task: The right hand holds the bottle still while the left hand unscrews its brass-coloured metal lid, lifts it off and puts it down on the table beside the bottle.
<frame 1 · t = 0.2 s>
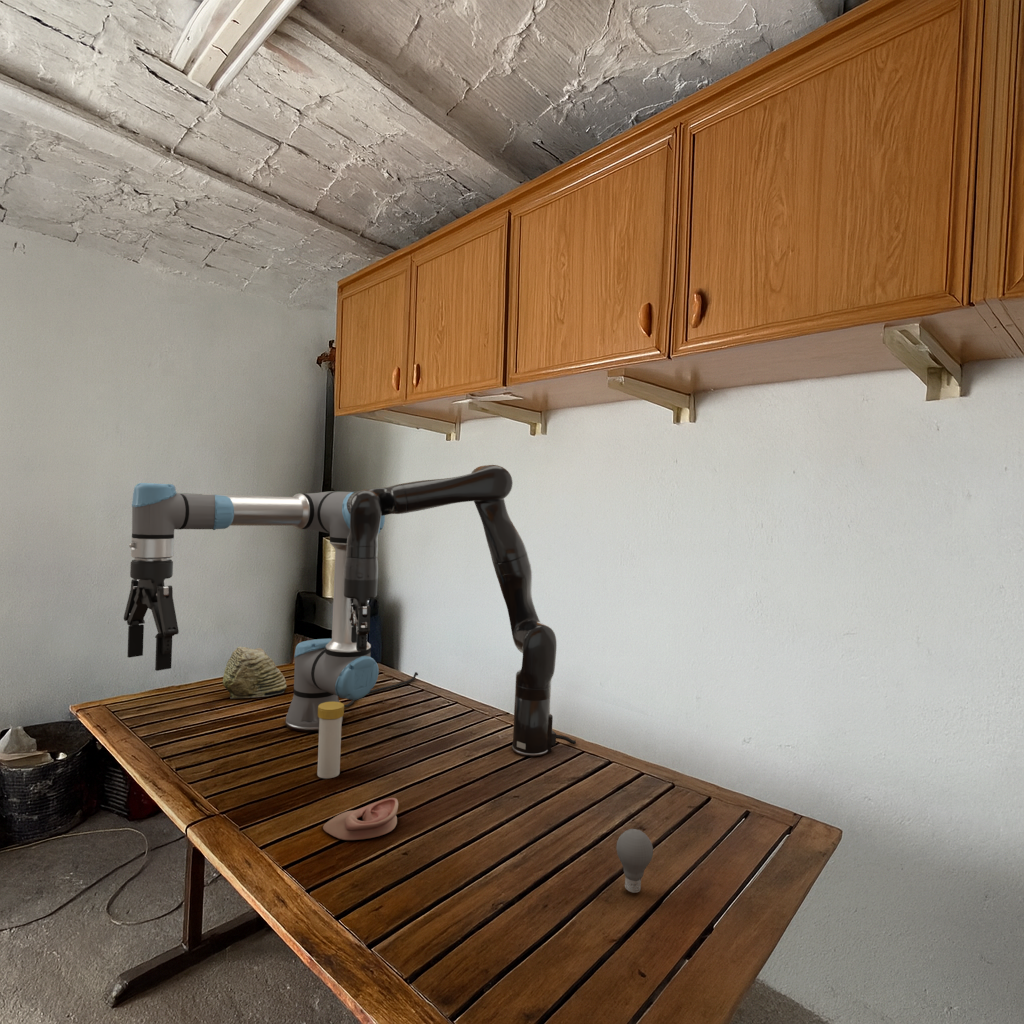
left hand: (148, 662, 129), 28 cm above the table, tool pointing down, fingers open, 13 cm apart
right hand: (358, 646, 146), 29 cm above the table, tool pointing down, fingers open, 8 cm apart
fossil: (254, 694, 198), on the table
lid: (331, 707, 145), point 15 cm above the table, screwed on, not yet turned
bottle: (328, 773, 145), on the table
light bulb: (632, 891, 106), on the table
anatomical model: (361, 826, 122), on the table
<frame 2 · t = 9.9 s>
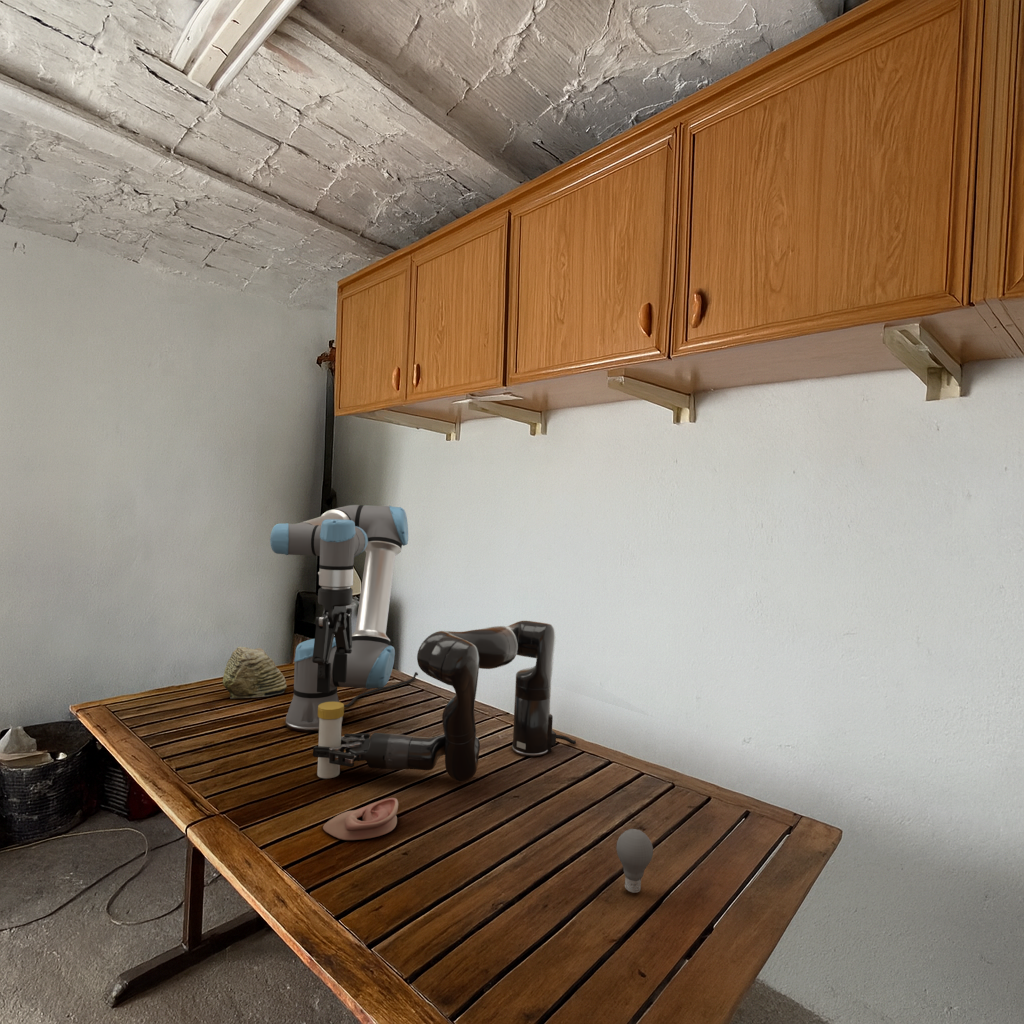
left hand: (331, 686, 145), 20 cm above the table, tool pointing down, fingers open, 8 cm apart
right hand: (318, 746, 145), 6 cm above the table, tool horizontal, fingers closed on bottle, 5 cm apart
bottle: (328, 773, 145), on the table, touching right hand
everything else where it was.
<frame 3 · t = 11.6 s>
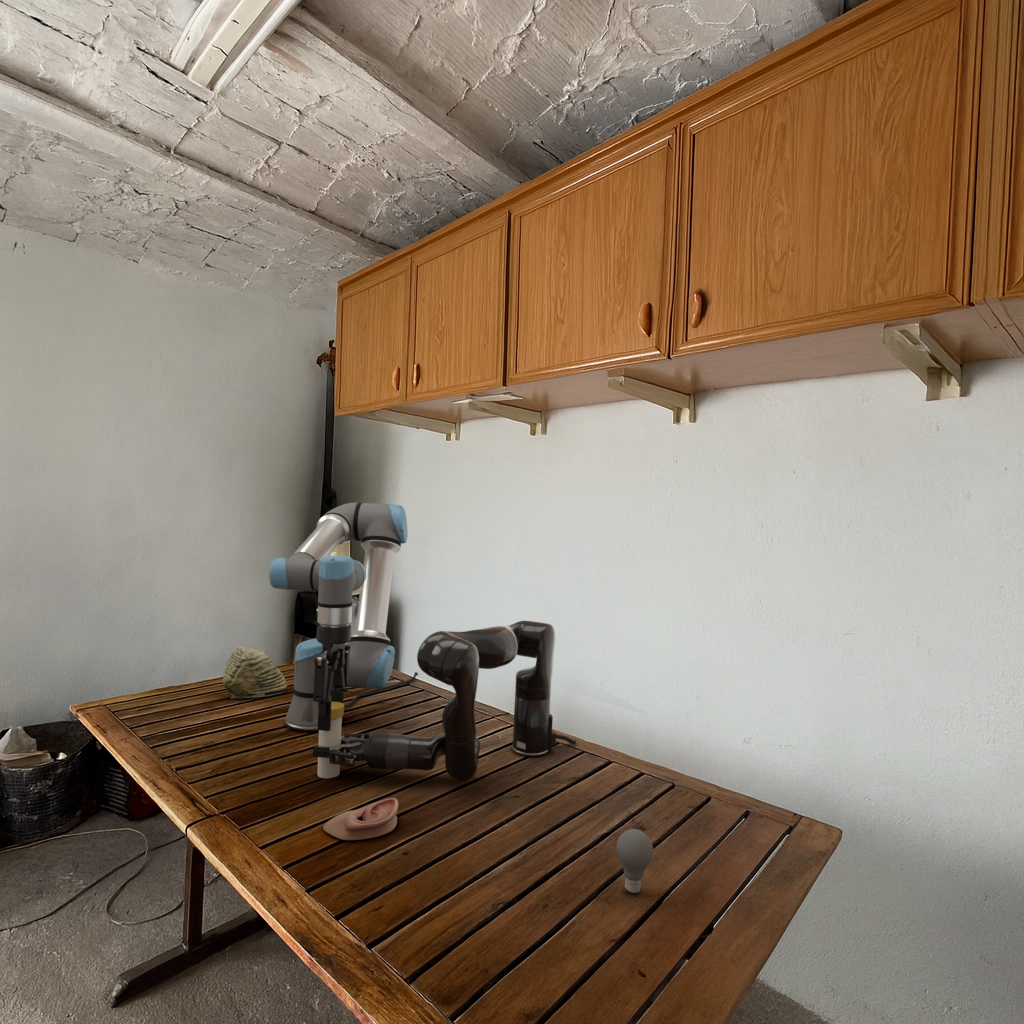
left hand: (330, 725, 145), 11 cm above the table, tool pointing down, fingers closed on lid, 6 cm apart
right hand: (318, 746, 145), 6 cm above the table, tool horizontal, fingers closed on bottle, 5 cm apart
lid: (331, 707, 145), point 15 cm above the table, screwed on, not yet turned, touching left hand
bottle: (328, 773, 145), on the table, touching right hand
everything else where it was.
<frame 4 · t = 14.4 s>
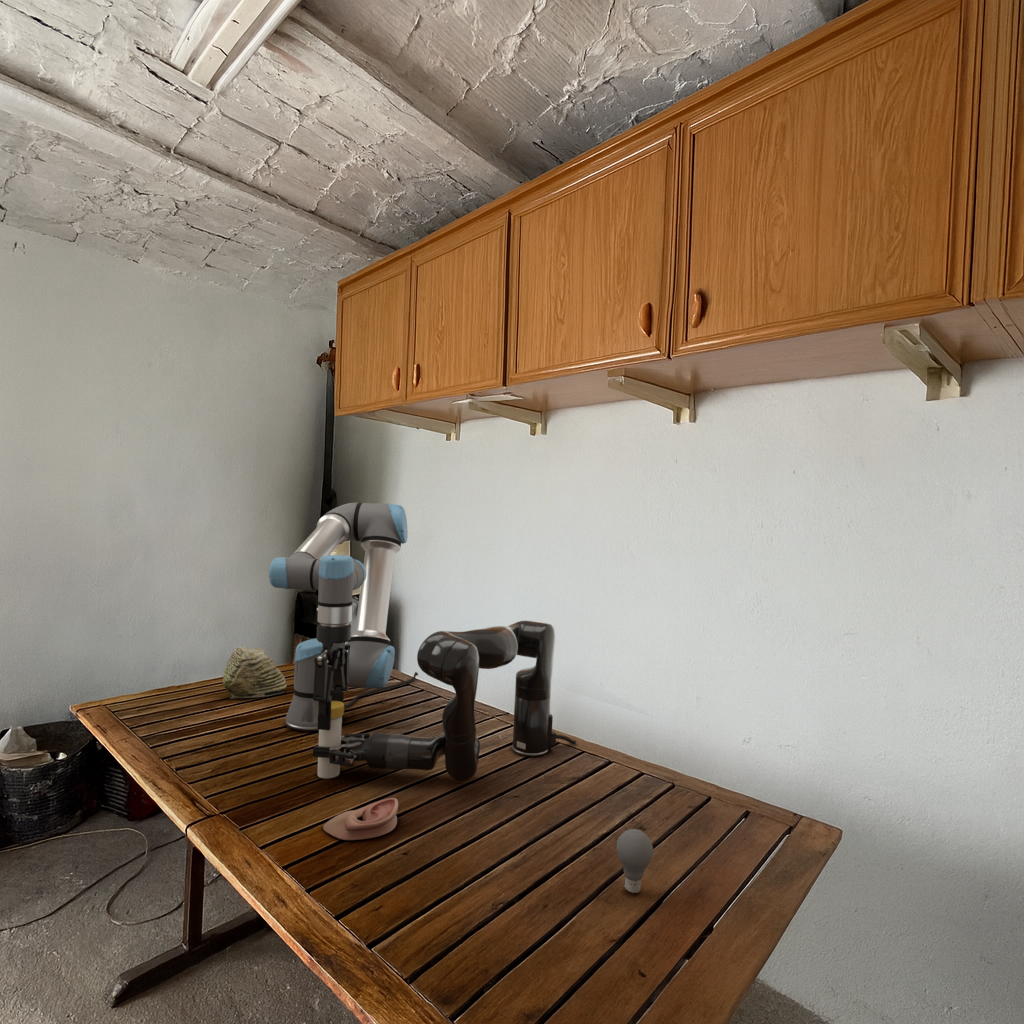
left hand: (330, 724, 145), 11 cm above the table, tool pointing down, fingers closed on lid, 6 cm apart
right hand: (318, 746, 145), 6 cm above the table, tool horizontal, fingers closed on bottle, 5 cm apart
lid: (331, 706, 145), point 16 cm above the table, turned 59° so far, risen 0.2 cm, still on its thread, touching left hand
bottle: (328, 773, 145), on the table, touching right hand
everything else where it was.
when the left hand's fingers open (0 cm above the table, at t = 21.3 s): lid drops 2 cm, point 2 cm above the table.
when the right hand's fingers open (6 cm above the table, at t = 22.1 s): bottle stays where it is, on the table.
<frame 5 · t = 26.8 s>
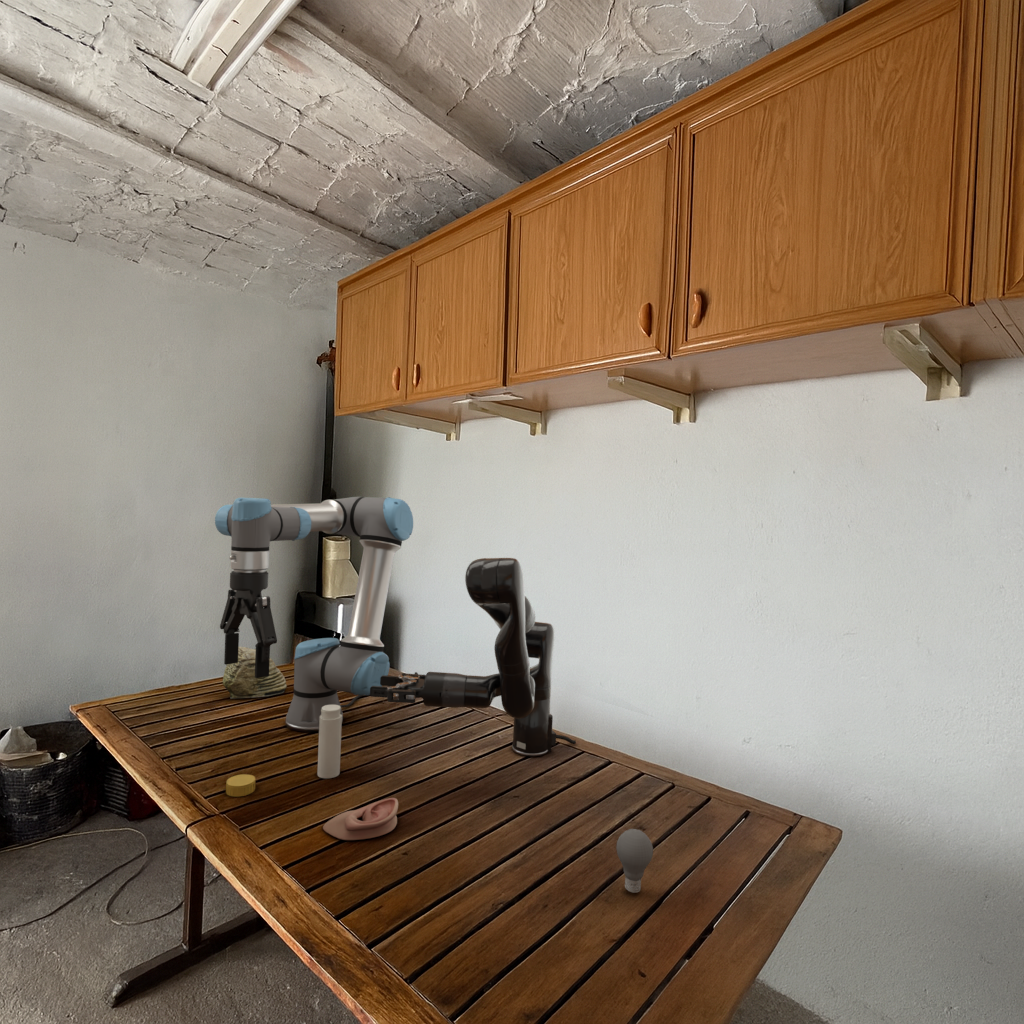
left hand: (245, 670, 135), 26 cm above the table, tool pointing down, fingers open, 13 cm apart
right hand: (375, 685, 144), 21 cm above the table, tool horizontal, fingers open, 8 cm apart
lid: (240, 781, 135), point 2 cm above the table, off its thread
bottle: (328, 773, 145), on the table
everything else where it was.
at the end: lid came off its thread; lid point 1.9 cm above the table; the left hand is holding nothing; the right hand is holding nothing; bottle tilted 0°; bottle moved 0.0 cm from its start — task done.
